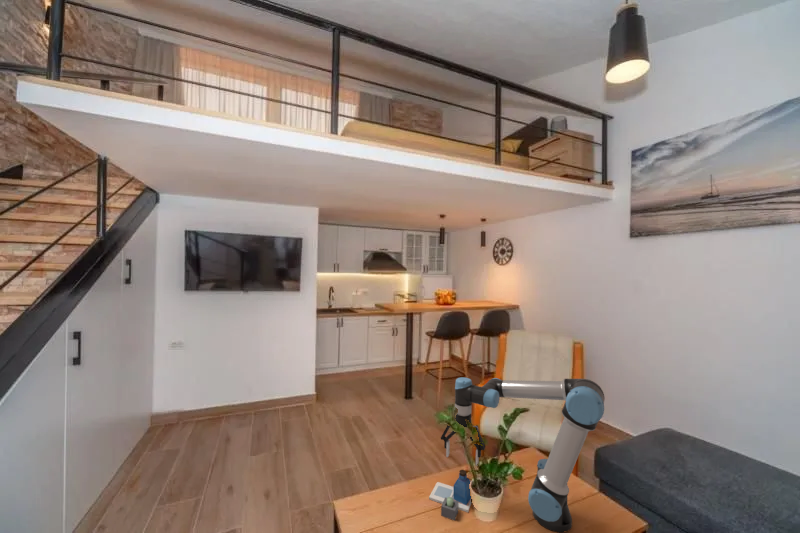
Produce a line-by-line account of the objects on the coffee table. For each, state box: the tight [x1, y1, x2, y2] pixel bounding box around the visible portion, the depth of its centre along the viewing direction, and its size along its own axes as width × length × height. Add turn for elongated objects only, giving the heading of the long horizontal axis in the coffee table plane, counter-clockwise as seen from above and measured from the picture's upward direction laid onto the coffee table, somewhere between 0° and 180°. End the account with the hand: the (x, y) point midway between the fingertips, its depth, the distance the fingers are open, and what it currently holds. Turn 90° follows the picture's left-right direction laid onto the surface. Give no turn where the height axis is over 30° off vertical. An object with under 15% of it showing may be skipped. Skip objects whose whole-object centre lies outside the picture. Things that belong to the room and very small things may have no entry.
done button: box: [447, 497, 453, 508], centre depth 136 cm, size 3×3×4 cm
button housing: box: [440, 497, 459, 521], centre depth 136 cm, size 6×6×4 cm
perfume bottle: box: [453, 469, 471, 505], centre depth 144 cm, size 6×6×12 cm
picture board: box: [428, 481, 472, 513], centre depth 146 cm, size 18×12×1 cm, turn 65°
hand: (462, 459), depth 144 cm, fingers open, 13 cm apart
